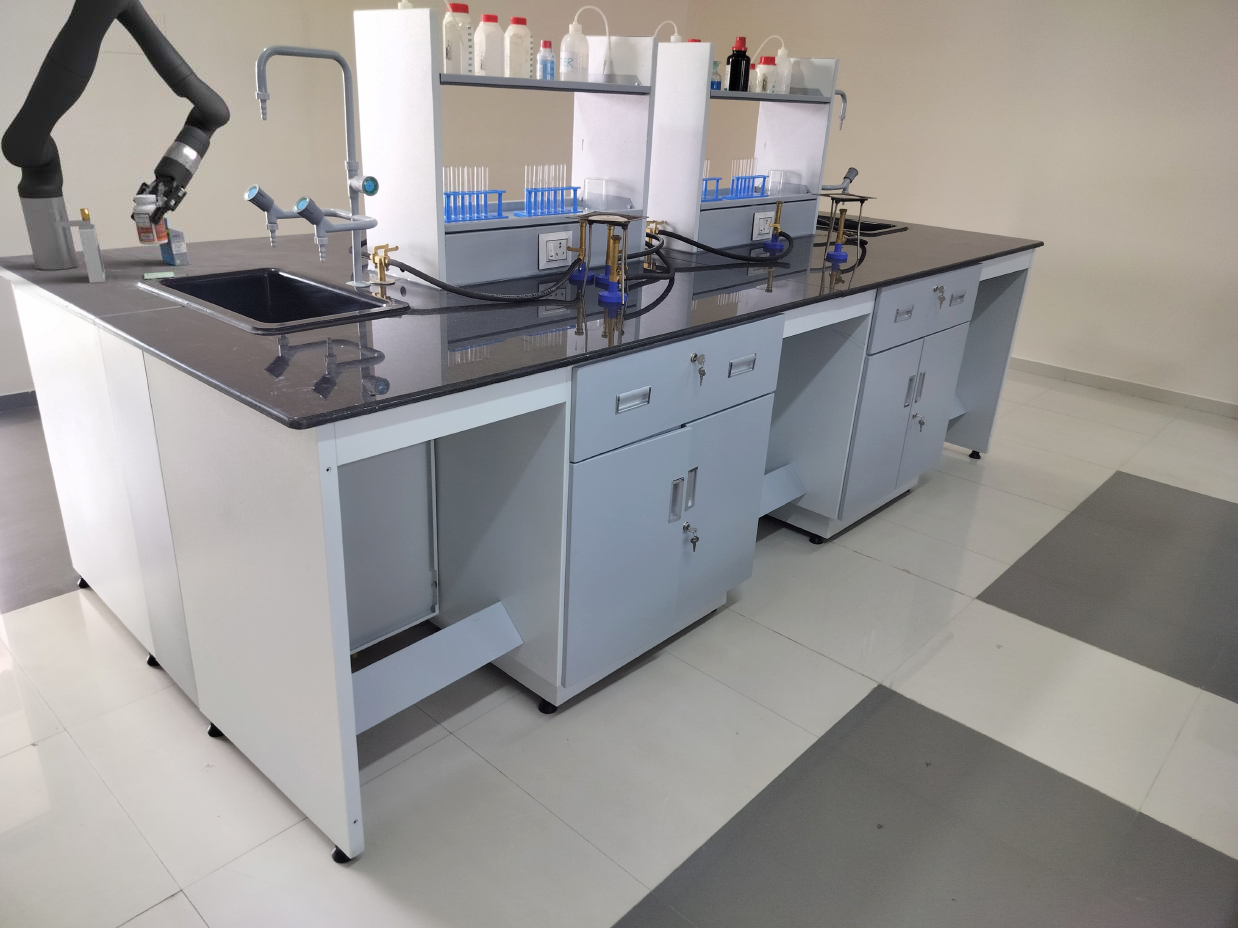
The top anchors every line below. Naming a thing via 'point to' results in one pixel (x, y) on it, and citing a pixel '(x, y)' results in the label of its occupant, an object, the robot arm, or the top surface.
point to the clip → (83, 222)
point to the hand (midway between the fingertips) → (143, 221)
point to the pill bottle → (146, 228)
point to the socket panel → (92, 253)
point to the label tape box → (174, 247)
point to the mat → (158, 275)
